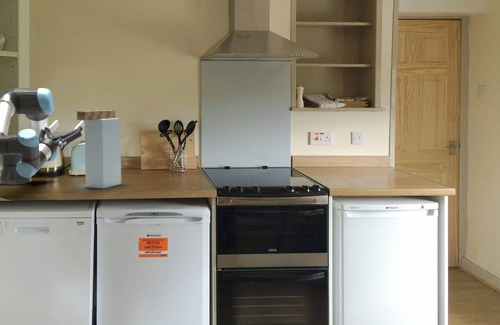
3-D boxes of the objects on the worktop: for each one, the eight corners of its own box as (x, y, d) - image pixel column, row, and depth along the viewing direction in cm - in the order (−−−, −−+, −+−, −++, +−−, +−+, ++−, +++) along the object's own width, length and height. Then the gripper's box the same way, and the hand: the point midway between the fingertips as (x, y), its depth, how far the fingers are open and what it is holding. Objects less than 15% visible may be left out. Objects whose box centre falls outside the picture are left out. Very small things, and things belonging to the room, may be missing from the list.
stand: (103, 188, 279) (102, 119, 276) (85, 187, 282) (84, 119, 279) (121, 183, 294) (120, 118, 291) (104, 182, 298) (102, 118, 294)
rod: (84, 120, 267) (84, 111, 267) (77, 120, 268) (76, 111, 268) (115, 118, 292) (114, 110, 291) (108, 118, 293) (107, 110, 292)
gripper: (23, 156, 250) (50, 129, 266) (72, 158, 242) (97, 131, 258) (16, 141, 246) (44, 115, 262) (66, 143, 238) (91, 116, 254)
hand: (70, 123), depth 260 cm, fingers open, 13 cm apart
